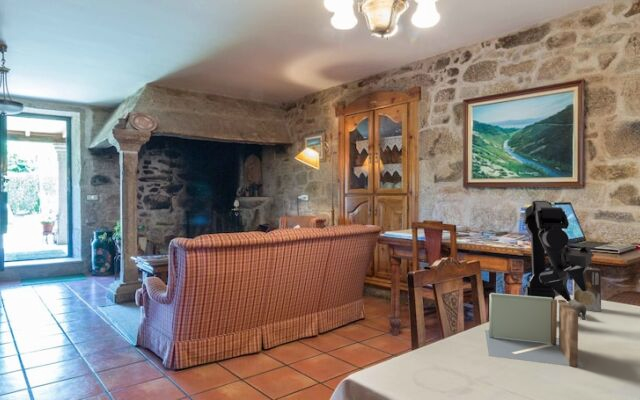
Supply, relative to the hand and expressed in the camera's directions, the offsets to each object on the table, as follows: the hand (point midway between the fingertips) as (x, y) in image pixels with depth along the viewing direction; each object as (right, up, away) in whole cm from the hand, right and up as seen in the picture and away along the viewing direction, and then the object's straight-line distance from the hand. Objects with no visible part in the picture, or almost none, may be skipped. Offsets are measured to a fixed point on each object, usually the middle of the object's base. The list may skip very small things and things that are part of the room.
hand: (577, 295), depth 124 cm
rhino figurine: (+17, -14, +29) cm, 37 cm away
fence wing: (-16, -14, +1) cm, 21 cm away
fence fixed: (-10, -14, -11) cm, 20 cm away
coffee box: (+28, -14, +39) cm, 50 cm away
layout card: (-17, -14, -4) cm, 22 cm away
